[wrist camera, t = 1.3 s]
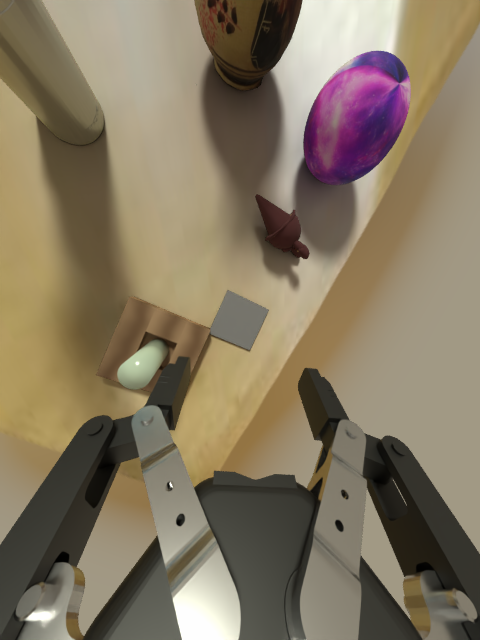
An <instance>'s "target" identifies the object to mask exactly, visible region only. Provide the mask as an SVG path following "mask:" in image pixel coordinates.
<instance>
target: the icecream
mask: <svg viewBox="0 0 480 640" xmlns="http://www.w3.org/2000/svg"><path fill="white" fill-rule="evenodd" d="M255 197H256V200H257V203H258V206H259V209H260V212H261V215H262V217H263V220H264V223H265V226H266V229H267V232H268V236H267V237H266V239H265V241H269V242H270V243H271V244H272V245H273V246H274V247H276V248H278V249H282V251H283V252H288V251H290V250H291V251H292V253H293V254H294V255H295V256H296V257H297V258H300V257H302V258H303V259H307V258H308V256H309V254H310V253H309V250H308V248H307V247H306V245H304V244H302V243H301V242H300V241H298V239H299V238H300V234H301V227H300V223H299V220H298V217H297V216H296V215H295V210H293V212H292V213H291V214H290V215H289V214H288V213H286V212H285V211H283V210H281V209H280V208H278V207H277V206H275V205H274V204H272V203H271V202H269V201H268V200H266V199H265V198H263V197H262V196H260V195H258V194H257V195H256V196H255Z"/></svg>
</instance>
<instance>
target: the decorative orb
mask: <svg viewBox="0 0 480 640" xmlns="http://www.w3.org/2000/svg"><path fill="white" fill-rule="evenodd" d="M410 95H411V89H410V80H409V76H408V72H407V70H406V68H405V66H404V64H403V63H402V62H401V61H400V59H399V58H397V57H396V56H395V55H393V54H391V53H388V52H385V51H371V52H367V53H364V54H361V55H359V56H357V57H355V58H353V59H351V60H350V61H348V62H347V63H345V64H344V65H343V66H342V67H340V68H339V69H338V70H337V71H336V72H335V73H334V74H333V75H332V76H331V77H330V79H329V80H328V81H327V82H326V84H325V85H324V86H323V88H322V89H321V91H320V92H319V94H318V96H317V98H316V99H315V101H314V103H313V106H312V108H311V110H310V113H309V116H308V119H307V122H306V126H305V132H304V142H303V147H304V156H305V160H306V163H307V166H308V168H309V170H310V171H311V173H312V174H313V175H314V176H315V177H316V178H317V179H318V180H320V181H321V182H324V183H326V184H331V185H342V184H347V183H350V182H353V181H355V180H357V179H359V178H361V177H363V176H364V175H366V174H367V173H368V172H370V171H371V170H372V169H373V168H375V167H376V166H377V165H378V164H379V163H380V162H381V161H382V160H383V158H384V157H385V156H386V155H387V154H388V152H389V151H390V149H391V148H392V147H393V145H394V143H395V142H396V140H397V138H398V136H399V135H400V132H401V130H402V128H403V126H404V123H405V120H406V117H407V114H408V110H409V104H410Z"/></svg>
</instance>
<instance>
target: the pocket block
mask: <svg viewBox="0 0 480 640" xmlns="http://www.w3.org/2000/svg"><path fill="white" fill-rule="evenodd" d="M209 333H210V328H208V327H205V326H203V325H200V324H198V323H196V322H193V321H191V320H188V319H186V318H184V317H181V316H179V315H177V314H174V313H172V312H169V311H167V310H165V309H162V308H160V307H157V306H155V305H153V304H150V303H148V302H146V301H143V300H141V299H138V298H136V297H129V299H128V301H127V303H126V306H125V308H124V310H123V313H122V315H121V317H120V320H119V322H118V324H117V327H116V329H115V331H114V334H113V336H112V338H111V341H110V343H109V345H108V348H107V350H106V353H105V355H104V357H103V360H102V362H101V364H100V367H99V369H98V371H97V374H96V375H97V376H101V377H104V378H107V379H110V380H113V381H117V382H119V380H118V376H117V373H118V369H119V367H120V366H121V365H122V364H123V363H124V362H125V361H127V360H128V359H129V358H130V357H131V356H133V355H134V354H135V353H136V352H138V351H139V350H140V349H141V348H143V347H144V346H145V345H146V344H148V343H149V342H150V341H151V340H153V339H162V340H164V341H166V342H167V344H168V345H169V353H168V355H167V356H166V358H165V359H164V361H163V362H162V364H161V365H160V367H159V368H158V370H157V371H156V373H155V374H154V376H153V377H152V379H151V380H150V382H149V383H148V384H147V385H146V386H145V387H143V388H140V389H142V390H146V391H149V392H152V391H153V389H154V387H155V385H156V383H157V381H158V379H159V377H160V375H161V373H162V370H163V369H164V368H165V367H166V366H167V365H168V364H169V363H173V364H175V363H176V360H177V358H178V356H184V357H190V364H191V372H192V370H193V368H194V366H195V364H196V361H197V359H198V357H199V355H200V353H201V350H202V348H203V346H204V344H205V342H206V339H207V337H208V335H209Z"/></svg>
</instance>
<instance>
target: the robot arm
mask: <svg viewBox="0 0 480 640" xmlns="http://www.w3.org/2000/svg"><path fill="white" fill-rule="evenodd" d="M0 78H1V79H2V80H3V81H4V82H5V83H6V85H7V86H8V87H9V88H10V89H11V90H12V91H13V92H14V93H15V94H16V95H17V96H18V97H19V98H20V99H21V100H22V101H23V102H24V103H25V104H26V106H27V107H28V108H29V109H30V110H31V111H32V112H33V113H34V114H35V115H36V116H37V117H38V118H39V119H40V120H41V121H42V122H43V124H44V125H45V126H46V127H47V128H48V129H49V130H50V131H51V132H52V133H53V134H54V135H56V136H57V137H58V138H60V139H61V140H63V141H65V142H68V143H70V144H75V145H85V144H89V143H91V142H93V141H95V140H96V139H97V138H98V137H99V136H100V134H101V132H102V130H103V126H104V116H103V111H102V109H101V106H100V104H99V102H98V100H97V99H96V97H95V95H94V93H93V91H92V90H91V88H90V86H89V84H88V82H87V81H86V79H85V77H84V75H83V73H82V71H81V70H80V68H79V66H78V64H77V63H76V61H75V59H74V57H73V55H72V54H71V52H70V50H69V48H68V47H67V45H66V43H65V41H64V39H63V38H62V36H61V34H60V32H59V30H58V29H57V27H56V25H55V23H54V22H53V20H52V18H51V16H50V14H49V13H48V11H47V9H46V7H45V5H44V4H43V2H42V0H0ZM190 376H191V364H190V357H184V356H178V358H177V360H176V363H175V364H173V363H169V364H168V365H167V366H166V367H165V368H164V369H163V370H162V373H161V375H160V377H159V379H158V381H157V383H156V385H155V387H154V389H153V391H152V393H151V395H150V397H149V399H148V401H147V403H146V405H145V406H144V407H143V408H141V409H140V410H139V411H137V412H136V414H134V415H132V416H129V417H125V418H121V419H116V420H112V419H111V418H110V417H109V416H105V415H102V416H97V417H94V418H92V419H90V420H89V421H87V422H86V423H85V424H83V425H82V427H81V428H80V429H79V430H78V432H77V433H76V435H75V436H74V438H73V439H72V441H71V442H70V444H69V445H68V446H67V448H66V449H65V451H64V452H63V454H62V455H61V457H60V458H59V460H58V461H57V463H56V464H55V466H54V467H53V469H52V470H51V471H50V473H49V474H48V476H47V477H46V479H45V480H44V482H43V483H42V485H41V486H40V488H39V489H38V491H37V492H36V493H35V495H34V497H33V498H32V499H31V501H30V502H29V504H28V505H27V507H26V508H25V510H24V511H23V512H22V514H21V516H20V517H19V518H18V520H17V521H16V523H15V524H14V526H13V527H12V529H11V530H10V531H9V533H8V534H7V536H6V537H5V539H4V540H3V542H2V543H1V545H0V640H480V554H479V552H478V551H477V549H476V548H475V546H474V545H473V543H472V542H471V540H470V539H469V538H468V536H467V535H466V533H465V531H464V530H463V529H462V527H461V526H460V525H459V523H458V521H457V519H456V518H455V516H454V515H453V514H452V512H451V511H450V509H449V508H448V506H447V505H446V503H445V502H444V500H443V499H442V497H441V496H440V494H439V493H438V491H437V490H436V488H435V487H434V485H433V484H432V482H431V481H430V479H429V478H428V476H427V475H426V473H425V472H424V471H423V469H422V467H421V466H420V464H419V463H418V461H417V460H416V459H415V457H414V455H413V454H412V452H411V451H410V450H409V448H408V447H407V446H406V445H405V444H404V443H403V442H401V441H400V440H398V439H397V438H395V437H392V436H385V437H383V439H381V440H380V439H378V438H375V437H373V436H370V435H367V434H365V433H364V432H363V431H362V429H361V428H360V427H359V426H358V425H357V424H355V423H354V422H352V421H350V420H349V418H348V416H347V414H346V413H345V411H344V409H343V407H342V405H341V403H340V401H339V399H338V398H337V396H336V394H335V392H334V390H333V388H332V386H331V384H330V383H329V382H328V381H327V380H326V379H325V378H324V377H321V376H320V374H319V372H318V370H317V369H312V368H305V369H304V371H303V373H302V376H301V378H300V380H299V383H298V391H299V394H300V397H301V400H302V403H303V406H304V409H305V412H306V415H307V418H308V421H309V425H310V428H311V431H312V433H313V437H314V440H321V441H322V443H323V446H322V448H321V451H320V454H319V457H318V460H317V463H316V466H315V470H314V473H313V476H312V478H311V480H310V482H309V484H308V486H307V488H305V487H304V486H302V485H300V484H299V483H297V482H296V480H295V476H294V475H281V474H274V475H271V476H268V477H265V478H261V479H258V480H254V479H251V478H248V477H246V476H243V475H240V474H238V473H236V472H224V471H214V477H212V478H208V479H206V480H204V481H202V482H201V483H199V484H198V485H197V486H196V487H193V485H192V482H191V480H190V477H189V475H188V472H187V470H186V467H185V465H184V462H183V460H182V457H181V455H180V452H179V450H178V448H177V446H176V444H174V442H173V439H172V437H171V434H170V432H169V430H175V428H176V424H177V421H178V418H179V415H180V411H181V408H182V405H183V401H184V398H185V395H186V391H187V388H188V385H189V381H190ZM137 457H140V461H141V468H142V472H143V477H144V481H145V485H146V489H147V493H148V497H149V501H150V505H151V510H152V514H153V518H154V522H155V525H156V530H157V534H158V535H157V536H156V538H155V539H154V541H153V542H152V543H151V545H150V546H149V547H148V549H147V550H146V551H145V553H144V554H143V555H142V557H141V558H140V559H139V560H138V562H137V563H136V564H135V566H134V567H133V569H132V570H131V571H130V572H129V574H128V575H127V576H126V578H125V579H124V581H123V582H122V583H121V585H120V586H119V587H118V589H117V590H116V591H115V593H114V594H113V595H112V597H111V598H110V599H109V601H108V602H107V603H106V605H105V606H104V607H103V609H102V610H101V611H100V613H99V614H98V616H97V617H96V618H95V620H94V621H93V623H92V624H91V626H90V628H89V629H88V631H87V632H86V634H85V636H83V635H82V633H81V632H80V629H79V624H78V615H79V608H80V604H81V601H82V597H83V594H84V588H85V577H84V574H83V572H82V571H81V570H80V569H79V568H77V565H78V562H79V560H80V558H81V555H82V553H83V551H84V548H85V546H86V544H87V541H88V539H89V536H90V534H91V532H92V529H93V527H94V525H95V522H96V520H97V517H98V515H99V513H100V511H101V508H102V506H103V503H104V501H105V499H106V496H107V494H108V492H109V489H110V487H111V485H112V482H113V480H114V478H115V475H116V473H117V471H118V468H119V466H120V464H121V462H124V461H128V460H131V459H134V458H137ZM393 479H394V481H395V483H396V485H397V487H398V489H399V490H400V492H401V494H402V496H403V498H404V500H405V502H406V504H407V506H406V504H405V502H404V500H403V498H402V497H401V495H400V493H399V491H398V489H397V487H396V485H395V483H394V481H393ZM367 488H368V491H369V493H370V496H371V498H372V501H373V503H374V505H375V508H376V510H377V513H378V515H379V517H380V519H381V522H382V524H383V527H384V529H385V531H386V534H387V536H388V538H389V541H390V544H391V546H392V548H393V551H394V553H395V555H396V558H397V560H398V562H399V565H400V567H401V570H402V572H403V575H404V577H405V578H404V581H403V590H404V595H405V596H404V604H405V607H406V609H407V611H408V613H409V615H410V618H411V620H410V619H409V618H408V616H407V615H406V614H405V612H404V611H403V610H402V609H401V607H400V606H399V605H398V603H397V602H396V601H395V599H394V598H393V597H392V596H391V594H390V593H389V592H388V590H387V589H386V588H385V586H384V585H383V584H382V583H381V581H380V580H379V579H378V577H377V576H376V575H375V573H374V572H373V571H372V569H371V568H370V567H369V565H368V564H367V563H366V562H365V560H364V559H363V558H362V556H361V545H362V534H363V523H364V512H365V501H366V490H367Z"/></svg>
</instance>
